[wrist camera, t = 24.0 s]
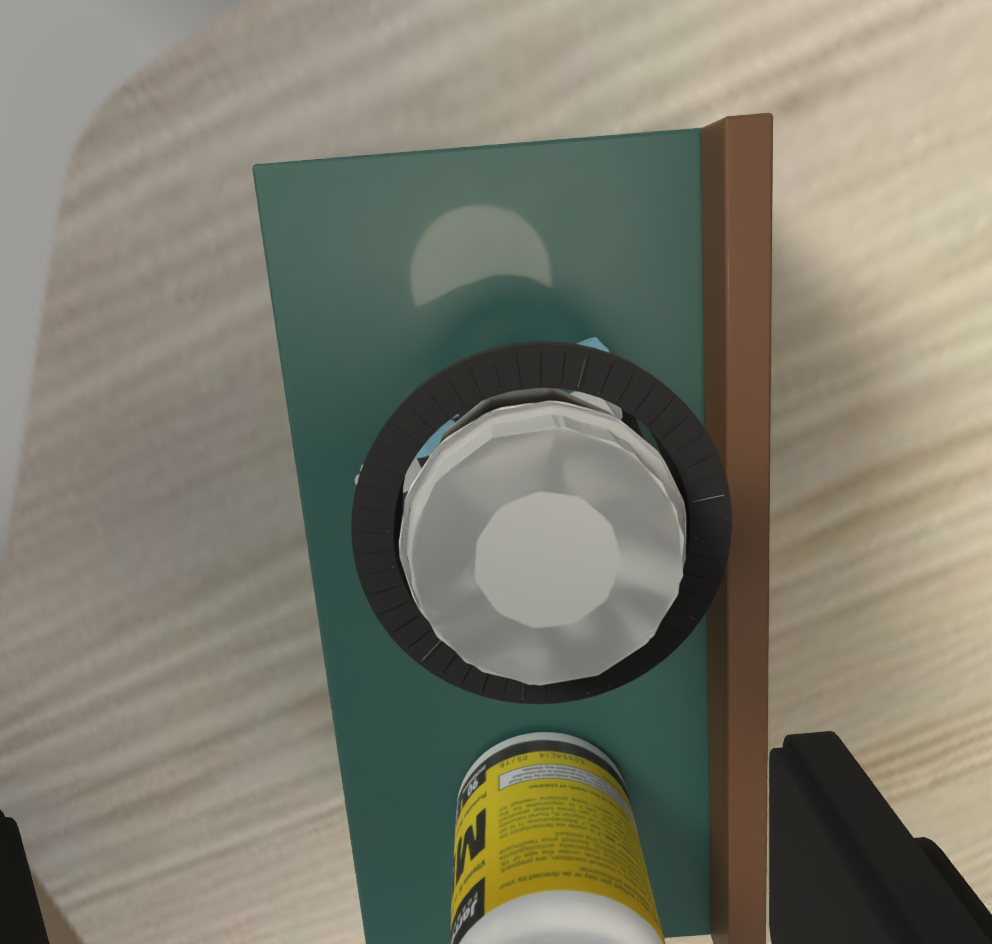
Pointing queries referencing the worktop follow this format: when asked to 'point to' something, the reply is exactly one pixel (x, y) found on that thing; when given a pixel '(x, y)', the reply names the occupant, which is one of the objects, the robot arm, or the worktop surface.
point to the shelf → (698, 383)
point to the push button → (541, 522)
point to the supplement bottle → (548, 849)
